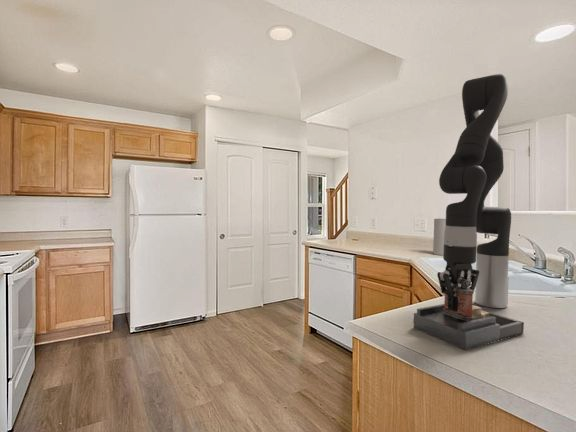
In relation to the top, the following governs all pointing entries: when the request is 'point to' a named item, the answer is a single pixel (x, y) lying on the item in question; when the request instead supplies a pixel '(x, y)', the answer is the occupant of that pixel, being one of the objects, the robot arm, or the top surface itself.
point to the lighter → (461, 302)
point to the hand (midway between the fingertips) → (457, 309)
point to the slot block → (456, 328)
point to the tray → (508, 326)
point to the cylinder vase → (439, 236)
